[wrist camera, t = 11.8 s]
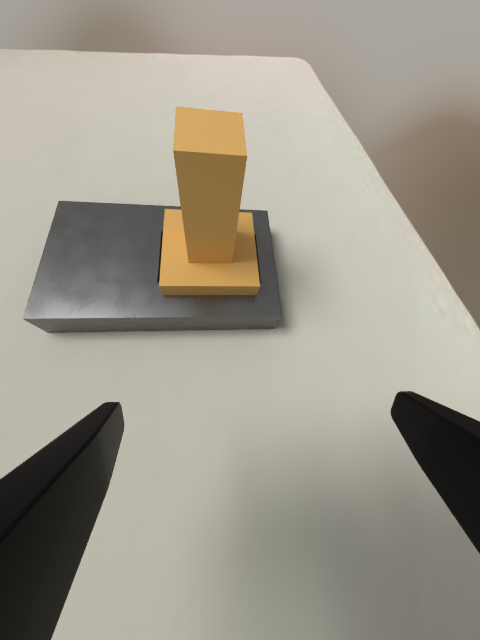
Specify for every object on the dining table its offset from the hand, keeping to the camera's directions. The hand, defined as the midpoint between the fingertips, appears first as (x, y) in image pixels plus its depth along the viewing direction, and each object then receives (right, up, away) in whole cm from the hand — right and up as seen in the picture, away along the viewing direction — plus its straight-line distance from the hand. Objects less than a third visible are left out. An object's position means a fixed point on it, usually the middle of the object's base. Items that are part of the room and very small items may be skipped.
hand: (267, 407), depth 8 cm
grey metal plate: (-8, +7, +17) cm, 20 cm away
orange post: (-4, +8, +17) cm, 19 cm away
